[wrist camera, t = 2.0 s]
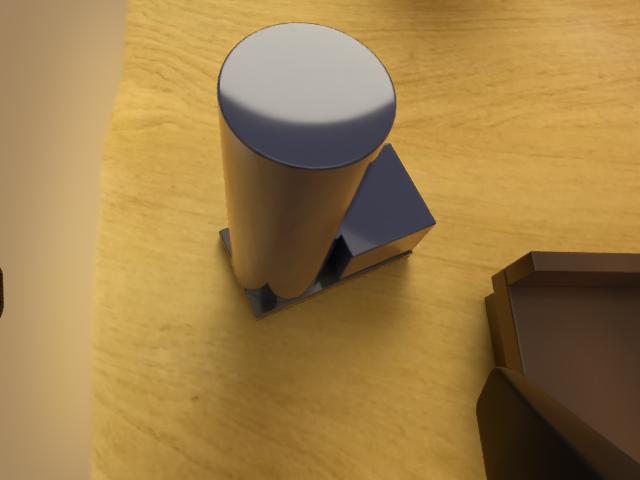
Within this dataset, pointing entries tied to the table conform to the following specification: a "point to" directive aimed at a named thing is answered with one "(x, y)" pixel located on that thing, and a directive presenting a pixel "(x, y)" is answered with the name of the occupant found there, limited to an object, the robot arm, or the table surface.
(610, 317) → the wooden wall shelf
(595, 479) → the robot arm
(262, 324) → the table surface
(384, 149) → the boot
